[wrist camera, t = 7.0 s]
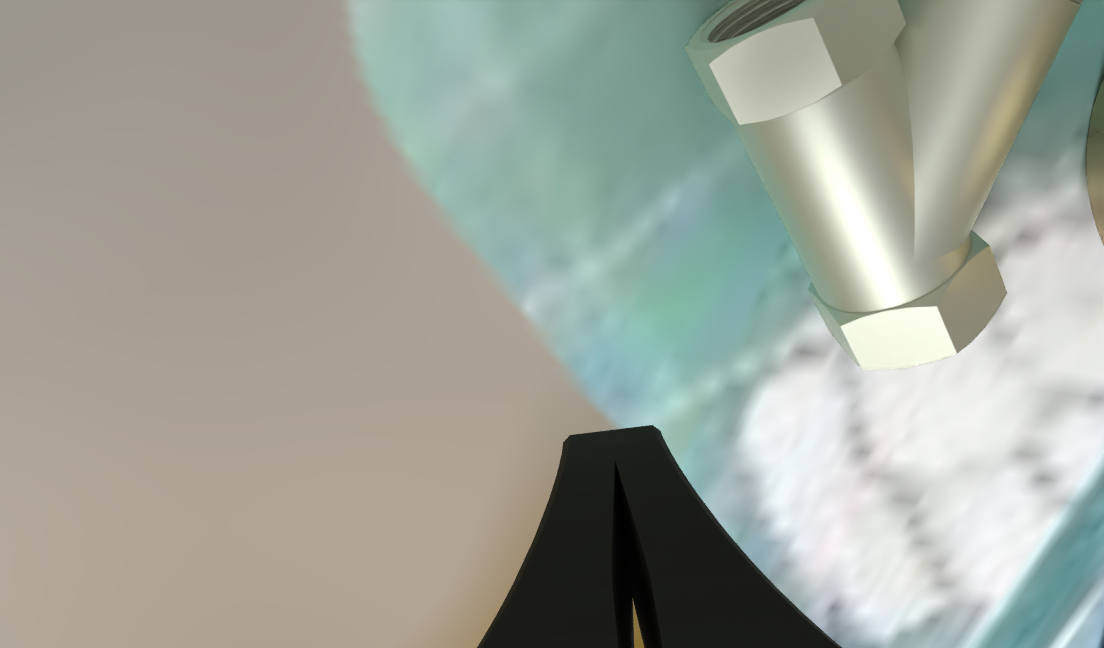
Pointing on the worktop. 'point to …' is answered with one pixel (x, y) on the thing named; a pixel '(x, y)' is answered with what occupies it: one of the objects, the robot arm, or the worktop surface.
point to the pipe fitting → (884, 149)
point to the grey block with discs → (1096, 162)
